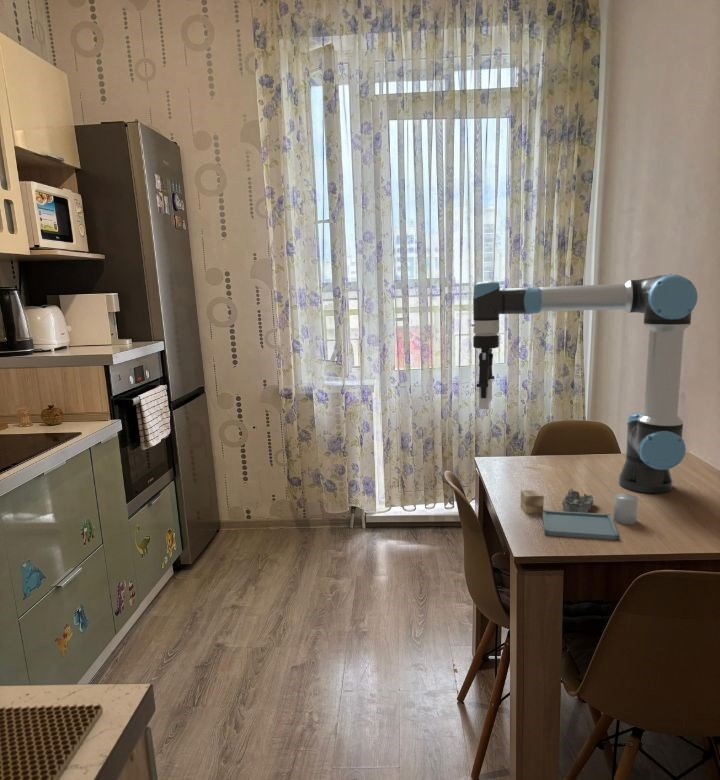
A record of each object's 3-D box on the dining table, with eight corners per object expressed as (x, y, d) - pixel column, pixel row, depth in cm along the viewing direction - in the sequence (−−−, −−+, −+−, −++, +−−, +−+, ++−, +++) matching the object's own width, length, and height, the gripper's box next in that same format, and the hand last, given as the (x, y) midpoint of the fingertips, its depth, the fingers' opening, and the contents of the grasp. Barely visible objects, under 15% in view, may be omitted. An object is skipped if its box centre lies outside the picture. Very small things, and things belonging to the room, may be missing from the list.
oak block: (537, 506, 173) (538, 489, 172) (543, 512, 168) (543, 495, 168) (520, 507, 173) (520, 490, 172) (525, 513, 168) (525, 496, 168)
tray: (609, 518, 163) (610, 514, 163) (618, 540, 149) (619, 535, 149) (542, 514, 167) (542, 510, 167) (544, 535, 153) (544, 530, 153)
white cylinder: (634, 517, 163) (635, 494, 162) (638, 525, 158) (639, 501, 157) (612, 516, 164) (613, 493, 163) (615, 523, 159) (616, 500, 158)
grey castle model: (570, 500, 178) (571, 487, 177) (597, 505, 174) (597, 491, 173) (558, 511, 170) (559, 497, 169) (586, 516, 165) (586, 502, 164)
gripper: (477, 331, 192) (477, 396, 195) (468, 338, 168) (468, 412, 172) (501, 331, 190) (500, 397, 193) (496, 338, 166) (495, 413, 170)
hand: (485, 404), depth 182 cm, fingers open, 13 cm apart
